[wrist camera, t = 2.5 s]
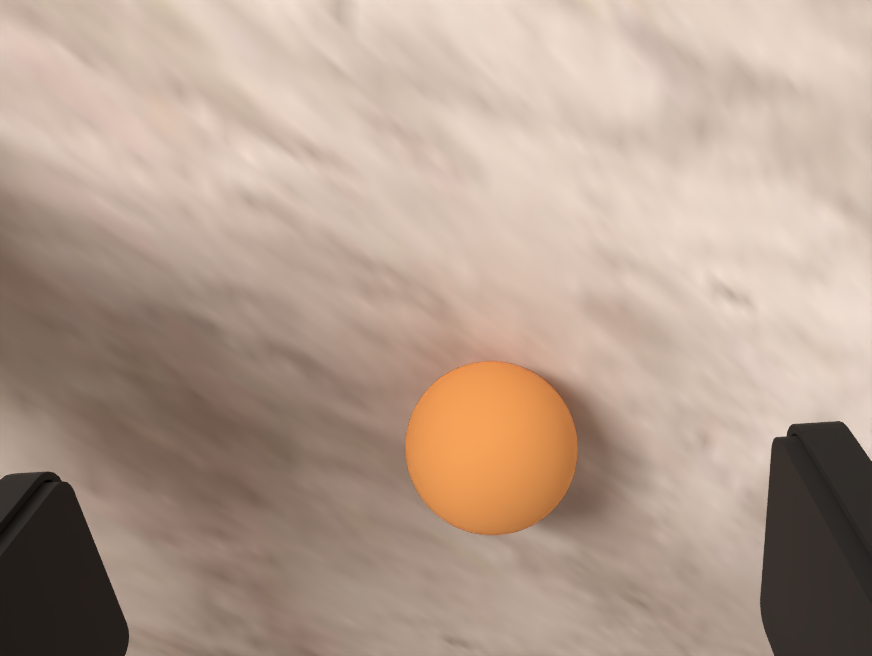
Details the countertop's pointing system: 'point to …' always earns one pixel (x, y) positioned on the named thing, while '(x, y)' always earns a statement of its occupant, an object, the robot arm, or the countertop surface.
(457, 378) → the ball
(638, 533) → the countertop surface
